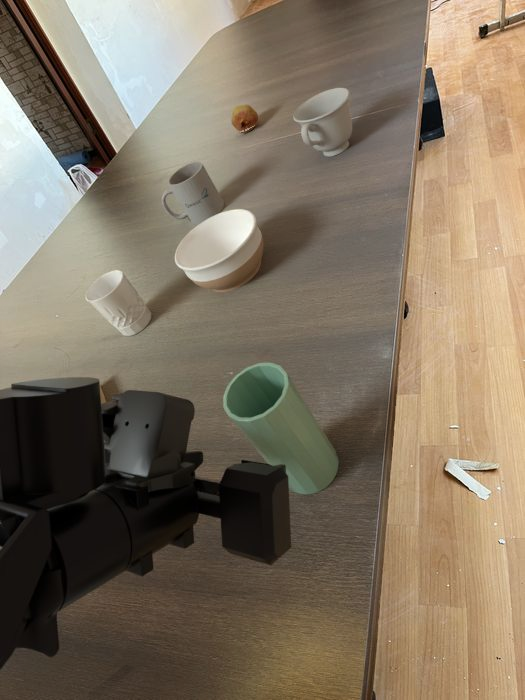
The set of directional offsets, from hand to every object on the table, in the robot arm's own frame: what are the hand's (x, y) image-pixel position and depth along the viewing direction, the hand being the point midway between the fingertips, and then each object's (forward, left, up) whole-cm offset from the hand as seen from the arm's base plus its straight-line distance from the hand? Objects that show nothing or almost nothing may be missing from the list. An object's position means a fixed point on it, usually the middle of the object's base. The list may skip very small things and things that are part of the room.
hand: (240, 462), depth 45 cm
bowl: (+44, +24, -13) cm, 52 cm away
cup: (+6, -1, -13) cm, 14 cm away
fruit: (+105, +42, -13) cm, 114 cm away
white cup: (+33, +42, -13) cm, 55 cm away
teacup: (+79, +12, -13) cm, 81 cm away
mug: (+67, +42, -13) cm, 80 cm away
